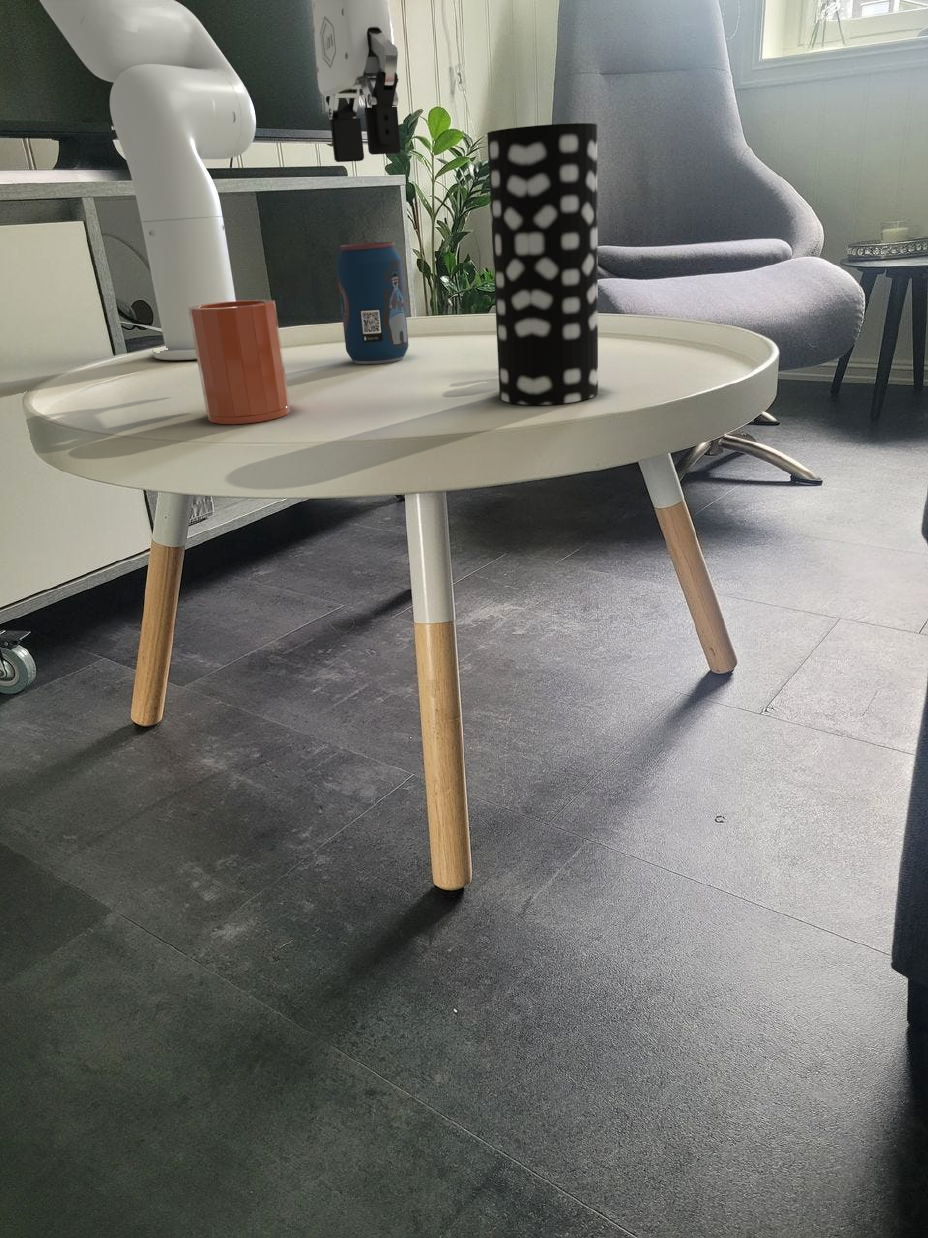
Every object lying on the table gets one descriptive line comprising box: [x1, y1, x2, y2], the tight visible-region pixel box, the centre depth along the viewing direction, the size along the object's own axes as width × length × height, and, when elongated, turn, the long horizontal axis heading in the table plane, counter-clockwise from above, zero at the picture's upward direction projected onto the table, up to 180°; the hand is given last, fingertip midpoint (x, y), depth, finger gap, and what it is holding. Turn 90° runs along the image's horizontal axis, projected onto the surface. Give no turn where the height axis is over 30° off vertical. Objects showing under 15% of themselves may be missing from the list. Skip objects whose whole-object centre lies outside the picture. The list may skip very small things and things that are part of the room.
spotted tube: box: [486, 122, 599, 406], centre depth 74 cm, size 8×8×20 cm
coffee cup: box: [188, 299, 290, 425], centre depth 76 cm, size 7×7×9 cm
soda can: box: [336, 241, 409, 365], centre depth 100 cm, size 7×7×12 cm
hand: (366, 157), depth 94 cm, fingers open, 9 cm apart
